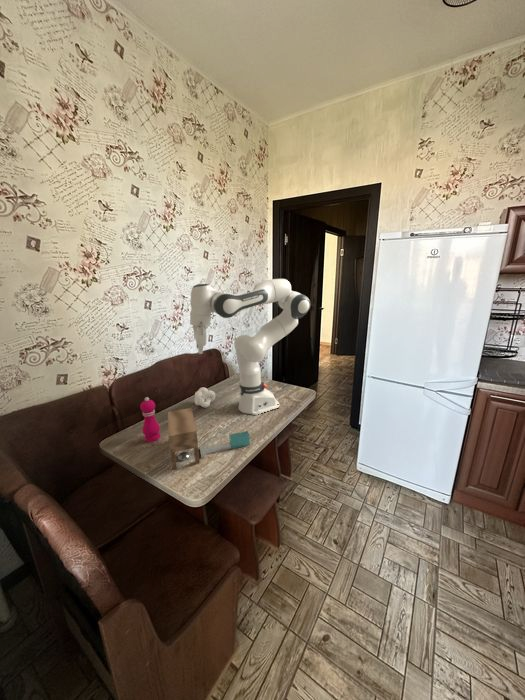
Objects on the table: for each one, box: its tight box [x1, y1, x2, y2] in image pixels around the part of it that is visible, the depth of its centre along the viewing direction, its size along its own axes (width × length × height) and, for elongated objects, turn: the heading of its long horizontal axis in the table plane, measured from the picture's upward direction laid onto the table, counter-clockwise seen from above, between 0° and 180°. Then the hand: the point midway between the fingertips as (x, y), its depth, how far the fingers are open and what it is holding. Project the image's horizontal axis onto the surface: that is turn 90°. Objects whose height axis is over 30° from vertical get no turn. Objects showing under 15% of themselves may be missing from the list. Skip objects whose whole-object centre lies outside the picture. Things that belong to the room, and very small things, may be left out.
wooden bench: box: [167, 407, 201, 470], centre depth 113 cm, size 10×20×14 cm, turn 19°
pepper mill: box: [140, 396, 161, 443], centre depth 122 cm, size 7×7×20 cm
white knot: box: [194, 387, 216, 408], centre depth 155 cm, size 11×12×9 cm
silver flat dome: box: [177, 451, 191, 462], centre depth 111 cm, size 4×4×1 cm
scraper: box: [198, 430, 251, 459], centre depth 116 cm, size 20×6×5 cm, turn 109°
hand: (199, 350), depth 128 cm, fingers open, 8 cm apart
